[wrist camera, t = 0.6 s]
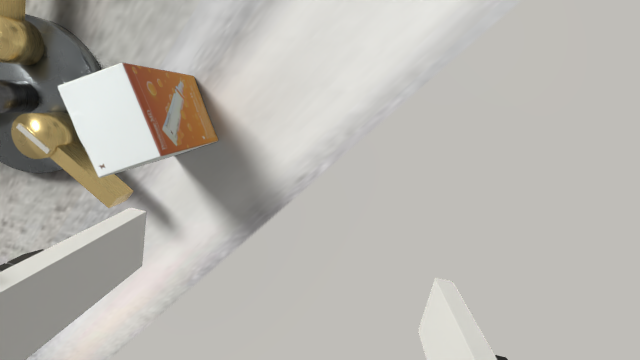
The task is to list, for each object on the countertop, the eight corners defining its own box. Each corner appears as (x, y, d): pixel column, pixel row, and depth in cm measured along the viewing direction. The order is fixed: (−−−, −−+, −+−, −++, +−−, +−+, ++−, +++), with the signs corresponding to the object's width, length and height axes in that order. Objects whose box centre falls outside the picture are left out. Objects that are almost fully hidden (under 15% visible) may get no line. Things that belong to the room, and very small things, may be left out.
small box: (220, 140, 41) (162, 158, 28) (173, 156, 41) (96, 180, 29) (194, 73, 39) (121, 60, 26) (146, 91, 40) (53, 86, 27)
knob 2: (36, 133, 40) (0, 137, 36) (57, 103, 39) (23, 103, 35) (122, 207, 41) (97, 219, 37) (145, 180, 40) (121, 189, 36)
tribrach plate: (-33, 0, 39) (-137, -28, 31) (116, 37, 39) (52, 19, 30) (-31, 150, 43) (-122, 162, 35) (103, 184, 43) (44, 205, 35)
